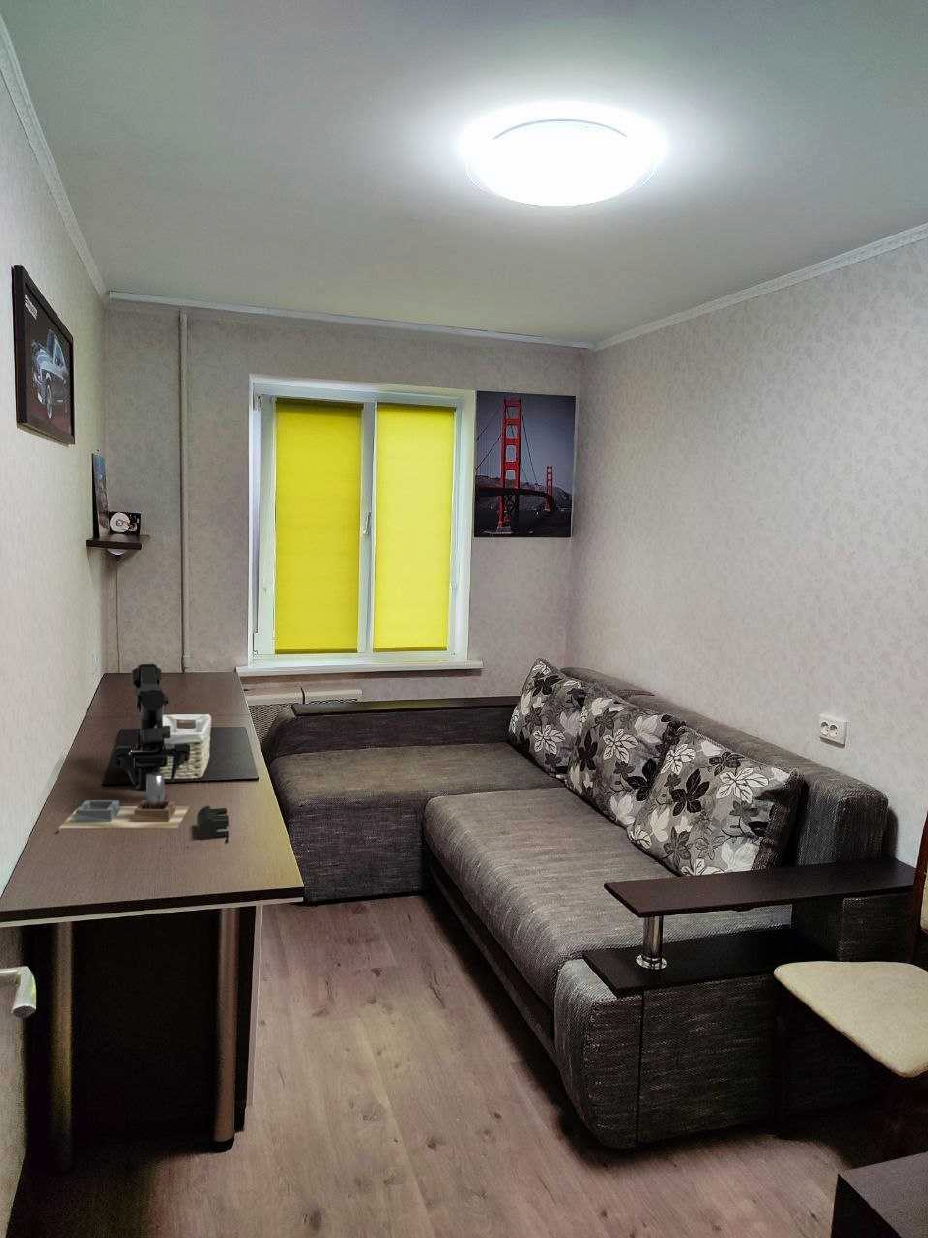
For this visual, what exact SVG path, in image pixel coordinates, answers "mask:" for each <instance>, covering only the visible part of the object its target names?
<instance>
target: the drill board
mask: <svg viewBox="0 0 928 1238" xmlns="http://www.w3.org/2000/svg"><path fill="white" fill-rule="evenodd" d="M189 809H190V806H189V805H188V806H187V805H185V806H179V805H176V799H164V809H146V799H142V800H141V802H140V803H139V804H138V806H136V805H135V806H132V805H131V806H129V805H128V806H127V805H125V806H124V805H123V806H120V799H86V800H84V802H82V803H81V805H80V806H78V807H77V808H76V809H75V810H74V811H73V813H71V814H70V816H69V817H68V818H67V819H65V821H64V822H63V823H62V824H61V825H60V826H59V827H58V833H60V832H61V831H62V830H63V829H142V828H143V829H177V828H178V827H179V826H180V824H181V822H182V820H183V818H185V817H184V816H185V815H186V814H187V812H188V811H189Z"/></svg>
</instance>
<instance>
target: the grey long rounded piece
mask: <svg viewBox="0 0 928 1238" xmlns="http://www.w3.org/2000/svg"><path fill="white" fill-rule="evenodd" d="M145 800H146V809H164V800H165V779H164V773H161V772H153V773H148V774H146V790H145Z"/></svg>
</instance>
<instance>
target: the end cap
mask: <svg viewBox="0 0 928 1238" xmlns="http://www.w3.org/2000/svg"><path fill="white" fill-rule="evenodd" d="M196 823H197V832H198V837H199V838H200V840H201V841H208V840H209V841H210V840H212V839H222V838H223V839H224V838H225V841H224V844H229V842H230V841H229V837H230V833H229V830H227V829H228V827H230V826H229V825H230V817H229V815H228V808H227V807H222V808H220V807H218V808H211V806H210V805H205V806H203V807H202V808H200V809H199V811H198V812H197V816H196ZM218 830H223V831H218Z"/></svg>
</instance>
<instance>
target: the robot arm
mask: <svg viewBox="0 0 928 1238" xmlns="http://www.w3.org/2000/svg"><path fill="white" fill-rule="evenodd" d="M162 678H163V677H162V669H161V668H160V667H157V664H155V663H141V664H138V667H136V668H134V669H132V670H131V686H132V687H134V688H133V689H134V691H133V692H134V694H135V708H137V709H138V711H139V712H140V718H139V719H140V720H139V721H140V734H138V736H137V739H136V747H133V750H132V746H131V745H127V746H126V745H121V746H116V747H115V749H114V765H115V766H119V767H120V768H121V769H124V770H125V771H126V772H127V774H128V776H129V778H130V780H131V781H132V784H133V786H136V773H135V770H138V785H137V786H136V787H135V790H136V791H146V774H148V773H153V772H160V767H165V766H167V765H168V756H173V765H172V774H171V779H170V780H171V783H173V782H174V780H175V779H174V778H175V775H176V772H177V770H178V768H179V766H180V765H181V764H184V762H185V761H189V758H190V745H189V744H188V743H175V744H174V749H166V747H165V746H164V745H165V743H164V739H168V738H170V726H163V715H164V713H165V712H164V710H165V707H167V705H169V698H168V697H167V694H166V693H163V692H164V691H163V688H162V687H163V686H161V685H162Z"/></svg>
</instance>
